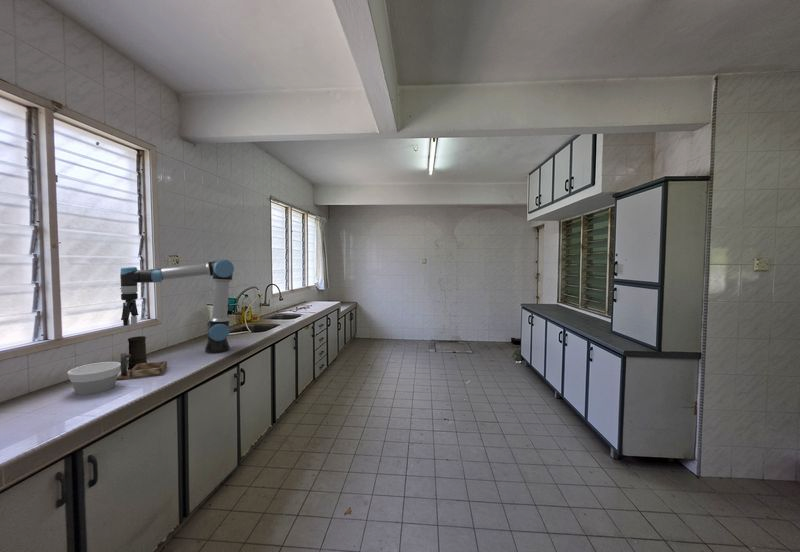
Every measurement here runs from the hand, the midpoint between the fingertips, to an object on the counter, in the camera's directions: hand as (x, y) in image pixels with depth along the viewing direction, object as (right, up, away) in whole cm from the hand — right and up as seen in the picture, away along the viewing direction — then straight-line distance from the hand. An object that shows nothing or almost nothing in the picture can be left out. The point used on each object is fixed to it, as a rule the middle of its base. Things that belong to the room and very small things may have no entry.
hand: (130, 328), depth 191 cm
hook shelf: (+15, -24, -10) cm, 30 cm away
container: (+5, -23, 0) cm, 24 cm away
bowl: (+9, -25, -32) cm, 41 cm away
